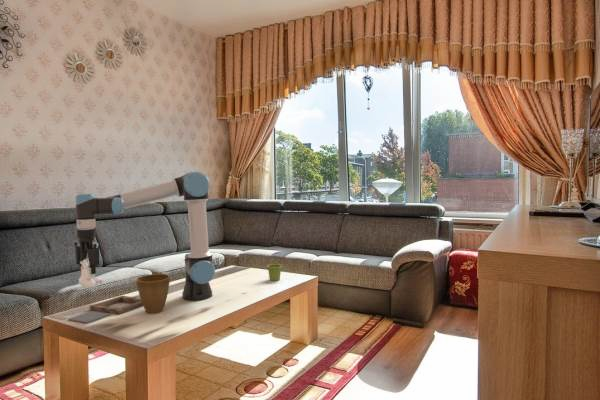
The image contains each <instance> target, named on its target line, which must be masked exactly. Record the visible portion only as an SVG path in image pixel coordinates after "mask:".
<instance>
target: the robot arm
mask: <svg viewBox="0 0 600 400" xmlns="http://www.w3.org/2000/svg"><path fill="white" fill-rule="evenodd" d="M210 184H211V183H210V180H209V178H208V177H207V175H206V174H205V173H203V172H199V171H191V172H188V173H186V174H183V175H181V176H179V177H175V178H172V180H171V181H167V182H164V183H160V184H155V185H152V186H147V187H144V188H140V189H136V190H131V191H128V192H124V193H121V194H120V193H119V194H117V195H112V196H111V195H110V196H108V197H96V196H95V194H94V193H80V194H76V195H75V217H76V218H75V219H76V229H77V230H76V237H77V239H79V240H78V242H77V241H76V242H74V248H75V261H76V262H75V263H76V265H79V267H80V268H79V269H80V271H79V272H80V276H81V275H82V271H83V269H84V268H83V266H82V264H80V262H81V261H83V260H84V259H87V257H88V259H89V264H90V266H88V267H89V274H90V275H89V281H91V279H93V280H94V281H96V280H95V278H96V273H97V271H96V270H97V269H96V267H97V266H99V265H100V246H101V243H100V242H96V240H95V237H97V233H96V232H97V231H96V227H97V225H96V216H97V215H98V216H99V215H102V216H103V215H121V214H123V213H124V212H125V209H131V208H134V207H137V206H142V205H145V204H149V203H153V202H157V201H161V200H165V199H168V198H171V197H175V196H176V197H178V198H180V197H183V201H184V202H185V203H187V212H188V213H187V214H188V226H189V227H188V229H189V230H188V231H189V243H190V244H189V245H190V253H186V254H185V255H184V259H183V260H184V271H185V272H184V273H185V274H184V277H185V284H184V286H183V291H182V296H181V298H182V299H183V300H186V301H200V300H201V301H202V300H206V299H209V298H212V296H213V290H212V287H211V285H210V282H211V281H212V280H213V278H214V277H215V274H216V268H215V265H214V261H213V253H212V252H211V251H210V248H209V234H208V219H207V218H208V217H207V215H208V214H207V201H208V200H209V196H210V195H209V189H210V186H211V185H210Z"/></svg>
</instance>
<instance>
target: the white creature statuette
mask: <svg viewBox="0 0 600 400" xmlns="http://www.w3.org/2000/svg"><path fill="white" fill-rule="evenodd" d="M80 264H82V266H83V268H84V269H83V271H82V275H81V274H80V276H79V277H78V283H79V285H80V286H81V287H88V288H95V287H96V286H97V284H102V283H103V278H100V277H95V280H96V281H94V280H93V279H91V281H89V275H90V274H89V267H88V266H90V264H89V259H88V258H86V259H84V260H83V261H81V262H80Z"/></svg>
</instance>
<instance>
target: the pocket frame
mask: <svg viewBox="0 0 600 400" xmlns="http://www.w3.org/2000/svg"><path fill="white" fill-rule="evenodd" d="M121 302H125V303H130V304H128V305H124V306H123V307H114V306H111V305H115V304H118V303H121ZM142 307H144V306H143V304H142V301H141V298H140V297H135V296H129V295H128V296H127V295H120V296H119V295H118V296H117V297H113V298H111V299H108V300H105V301H101V302H98V303H95V304H91V305H89V310H90V311H96V312H102V313H108V314H111V315H112V314H114V315H117V316H118V315H119V316H121V315H123V314H126V313H128V312H131V311H133V310H136V309H139V308H142Z"/></svg>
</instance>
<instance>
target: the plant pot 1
mask: <svg viewBox="0 0 600 400" xmlns="http://www.w3.org/2000/svg"><path fill="white" fill-rule="evenodd" d="M170 278H171V276H170V275H169V274H166V273H156V274H155V273H154V274H147V275H146V274H145V275H143V276H139V277H137V278H136V279H135V281H136V286H137V287H136V288H137V291H138V294H139V298H141V301H142V304H143V306H142V307H143V308H144V310H145V312H146V314H150V315H153V314H154V315H155V314H159V313H162V312H163V311H164V309H165V307H166V306H165V305H166V302H167V298H168V293H169V288H170Z"/></svg>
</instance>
